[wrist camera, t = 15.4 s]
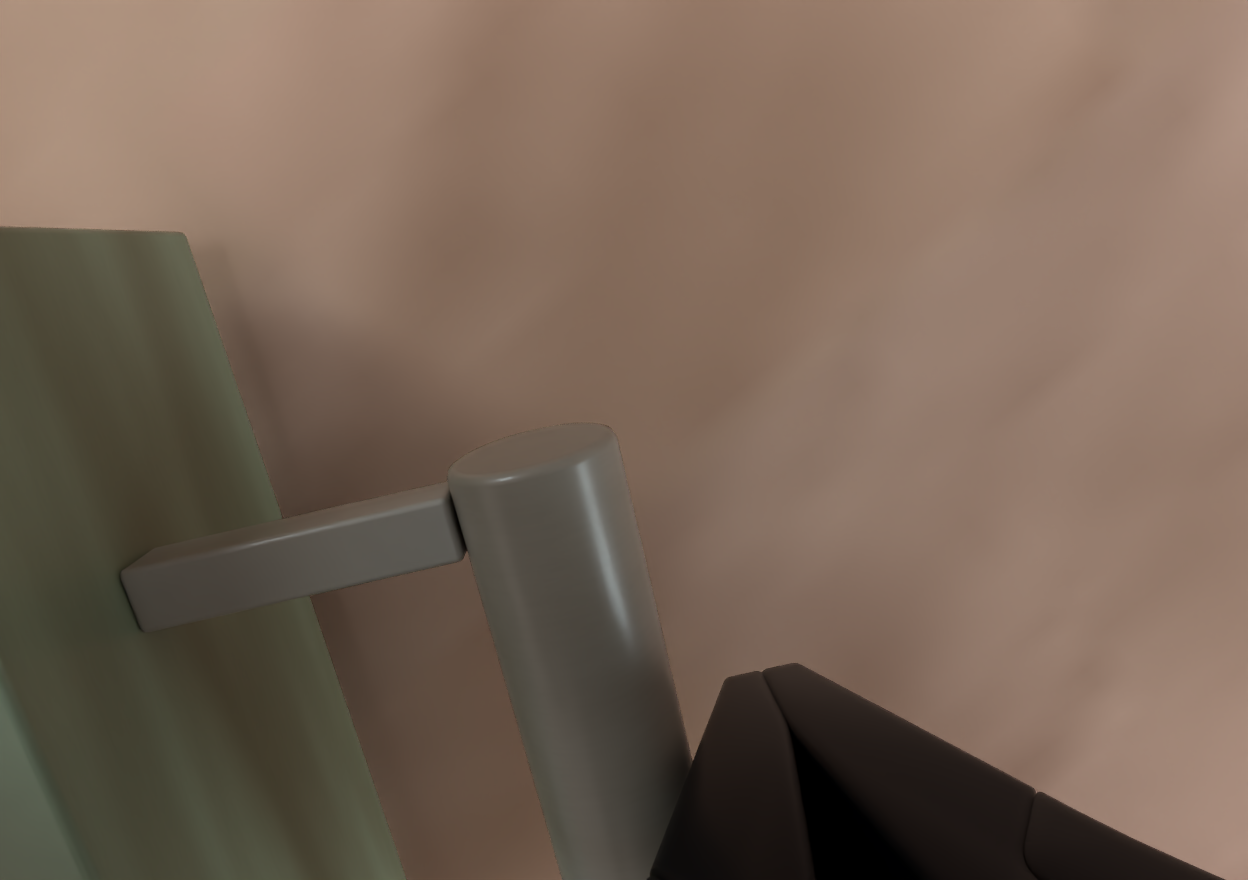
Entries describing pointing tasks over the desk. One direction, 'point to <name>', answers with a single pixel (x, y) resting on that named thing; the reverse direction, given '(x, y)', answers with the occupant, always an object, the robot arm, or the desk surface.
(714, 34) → the desk surface
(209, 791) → the drawer
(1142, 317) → the desk surface
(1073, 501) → the desk surface
